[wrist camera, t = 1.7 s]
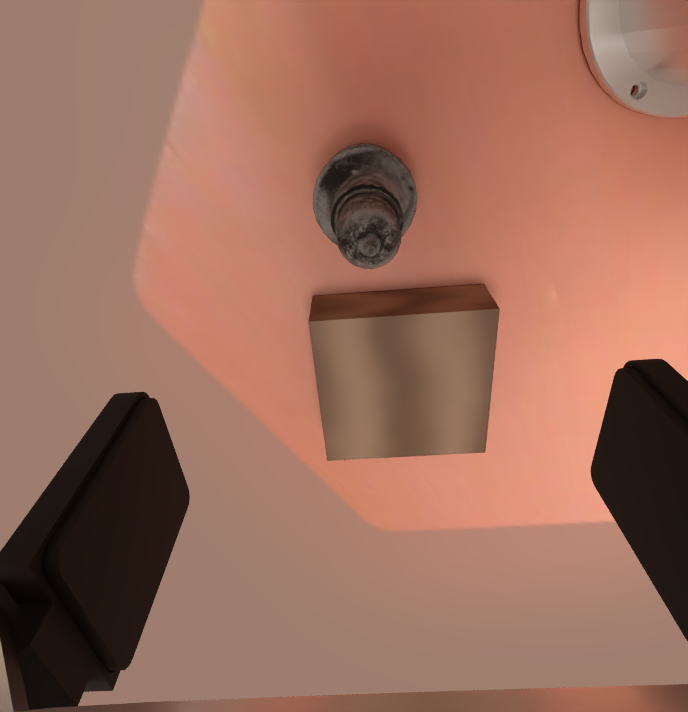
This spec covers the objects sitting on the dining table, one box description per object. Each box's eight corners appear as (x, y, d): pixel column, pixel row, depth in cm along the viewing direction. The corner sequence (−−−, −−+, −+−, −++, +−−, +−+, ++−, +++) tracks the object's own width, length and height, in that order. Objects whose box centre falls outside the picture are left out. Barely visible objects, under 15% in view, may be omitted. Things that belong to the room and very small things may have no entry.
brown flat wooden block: (483, 283, 33) (499, 308, 29) (473, 418, 39) (485, 452, 36) (312, 295, 34) (308, 321, 30) (329, 427, 40) (327, 460, 36)
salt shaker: (398, 241, 31) (422, 324, 21) (311, 227, 31) (292, 305, 21) (420, 146, 28) (460, 190, 18) (323, 130, 28) (308, 164, 18)
